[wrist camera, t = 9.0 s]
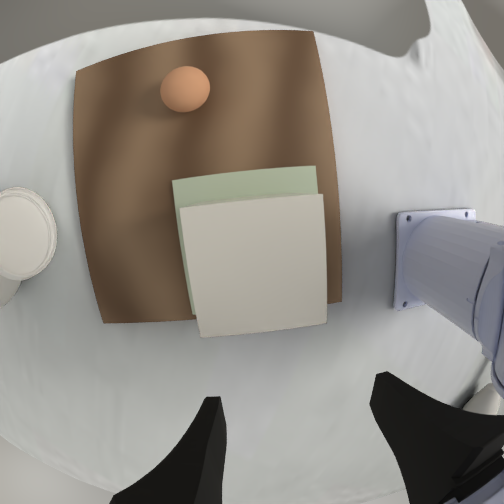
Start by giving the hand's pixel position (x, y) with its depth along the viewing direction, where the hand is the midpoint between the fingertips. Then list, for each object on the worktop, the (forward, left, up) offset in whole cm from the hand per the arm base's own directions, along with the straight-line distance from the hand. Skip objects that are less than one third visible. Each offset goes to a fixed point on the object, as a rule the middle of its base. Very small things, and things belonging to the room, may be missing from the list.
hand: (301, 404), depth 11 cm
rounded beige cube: (+1, -6, -8) cm, 10 cm away
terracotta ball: (+4, -16, -7) cm, 18 cm away
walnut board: (+4, -11, -9) cm, 15 cm away
